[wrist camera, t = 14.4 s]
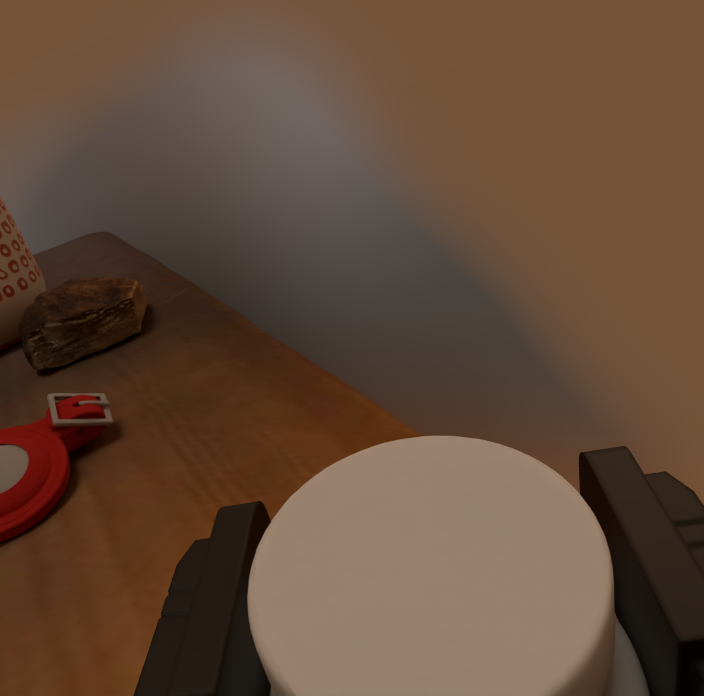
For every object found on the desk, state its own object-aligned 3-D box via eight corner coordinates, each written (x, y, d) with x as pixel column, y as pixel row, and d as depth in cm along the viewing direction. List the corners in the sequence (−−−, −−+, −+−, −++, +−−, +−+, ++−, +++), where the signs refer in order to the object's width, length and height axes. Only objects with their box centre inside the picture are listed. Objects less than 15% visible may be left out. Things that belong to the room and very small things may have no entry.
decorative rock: (169, 339, 58) (143, 295, 66) (151, 284, 55) (126, 244, 62) (37, 385, 54) (26, 332, 62) (9, 328, 50) (1, 280, 58)
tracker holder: (23, 540, 33) (-142, 516, 34) (52, 576, 36) (-100, 554, 37) (117, 377, 41) (-18, 362, 42) (133, 417, 45) (8, 403, 46)
